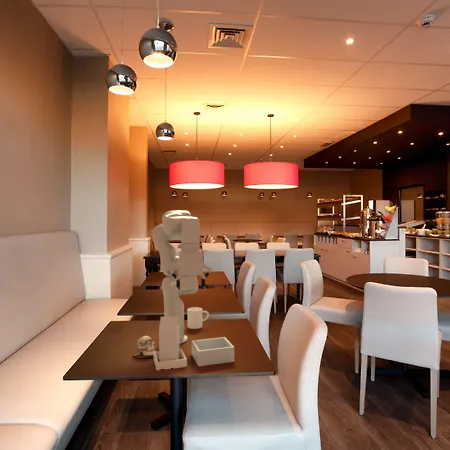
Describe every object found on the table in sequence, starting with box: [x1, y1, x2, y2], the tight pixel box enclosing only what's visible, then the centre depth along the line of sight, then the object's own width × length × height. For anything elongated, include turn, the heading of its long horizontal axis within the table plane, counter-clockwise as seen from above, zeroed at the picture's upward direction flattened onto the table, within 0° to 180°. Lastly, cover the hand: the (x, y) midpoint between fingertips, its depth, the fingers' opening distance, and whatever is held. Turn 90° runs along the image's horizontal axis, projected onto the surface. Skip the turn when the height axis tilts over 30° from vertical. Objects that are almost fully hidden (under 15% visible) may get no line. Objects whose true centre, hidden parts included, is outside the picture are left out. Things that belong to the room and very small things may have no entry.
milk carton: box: [158, 316, 181, 362], centre depth 144 cm, size 7×7×19 cm
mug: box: [186, 306, 210, 330], centre depth 193 cm, size 8×12×10 cm, turn 85°
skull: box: [134, 335, 159, 359], centre depth 154 cm, size 12×10×10 cm
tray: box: [152, 348, 188, 371], centre depth 144 cm, size 12×12×3 cm
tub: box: [191, 336, 235, 367], centre depth 149 cm, size 13×15×6 cm
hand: (190, 288), depth 144 cm, fingers open, 9 cm apart
